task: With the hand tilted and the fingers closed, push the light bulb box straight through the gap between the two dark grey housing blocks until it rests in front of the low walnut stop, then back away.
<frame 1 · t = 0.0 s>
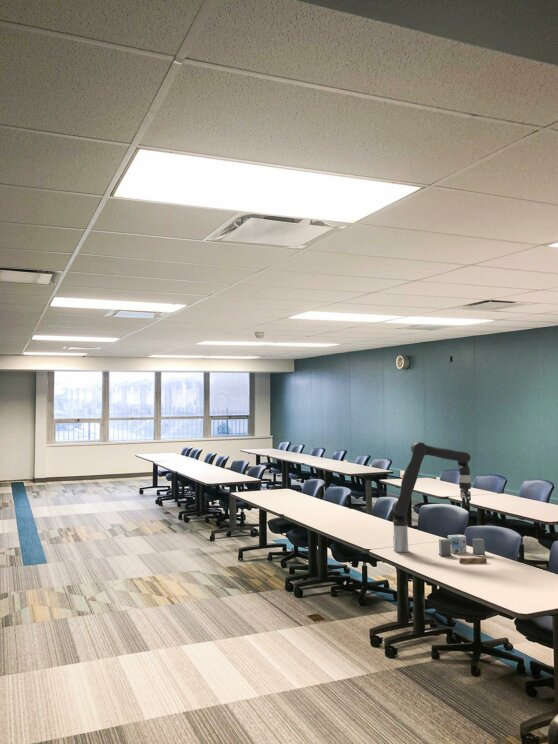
hand: (465, 505, 411), 29 cm above the table, tool pointing down, fingers open, 8 cm apart
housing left: (445, 555, 392), on the table
light bulb box: (457, 552, 402), on the table
walnut stop: (473, 563, 371), on the table
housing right: (478, 555, 392), on the table
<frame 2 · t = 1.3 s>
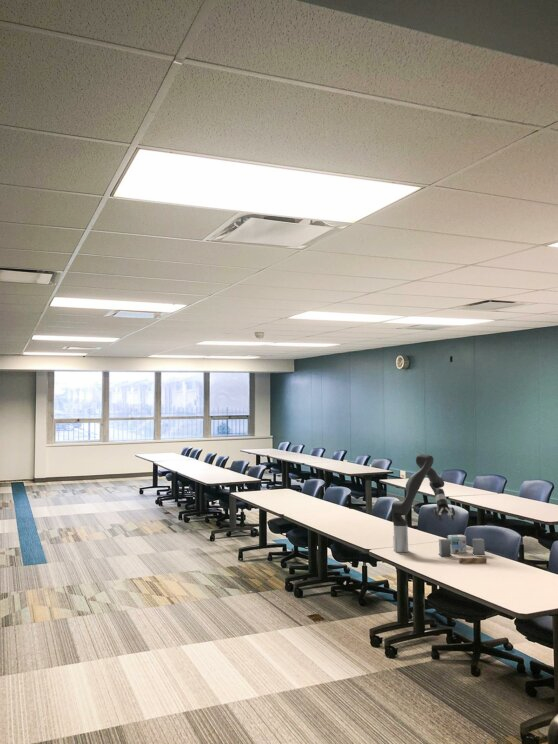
hand: (446, 520, 427), 17 cm above the table, tool tilted 45°, fingers open, 8 cm apart
nothing on the table moved.
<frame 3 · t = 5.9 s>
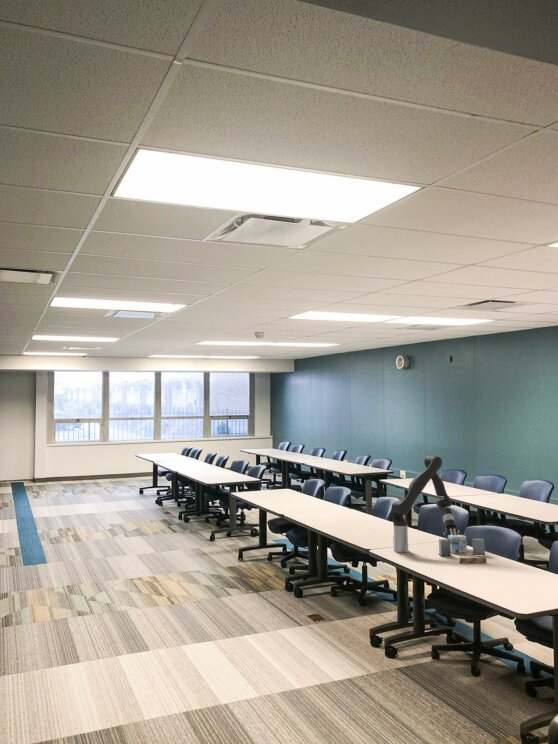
hand: (455, 543, 406), 5 cm above the table, tool tilted 45°, fingers closed
light bulb box: (457, 552, 402), on the table, touching gripper
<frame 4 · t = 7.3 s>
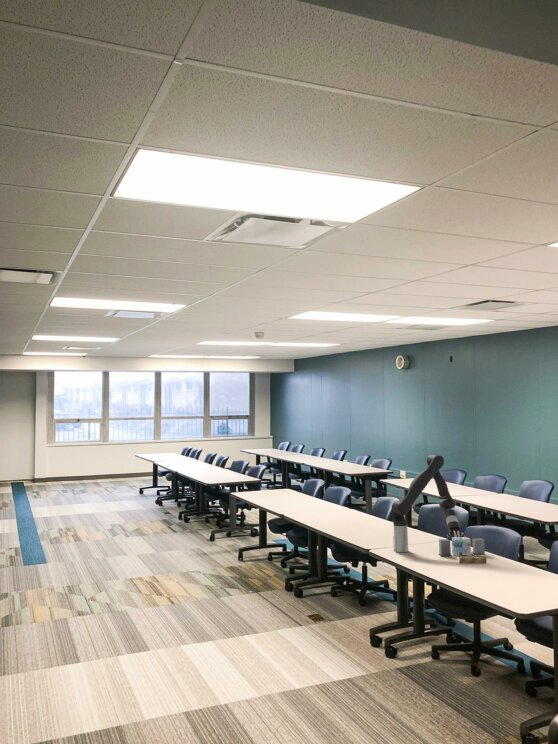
hand: (459, 546, 398), 5 cm above the table, tool tilted 45°, fingers closed
light bulb box: (461, 555, 394), on the table, touching gripper
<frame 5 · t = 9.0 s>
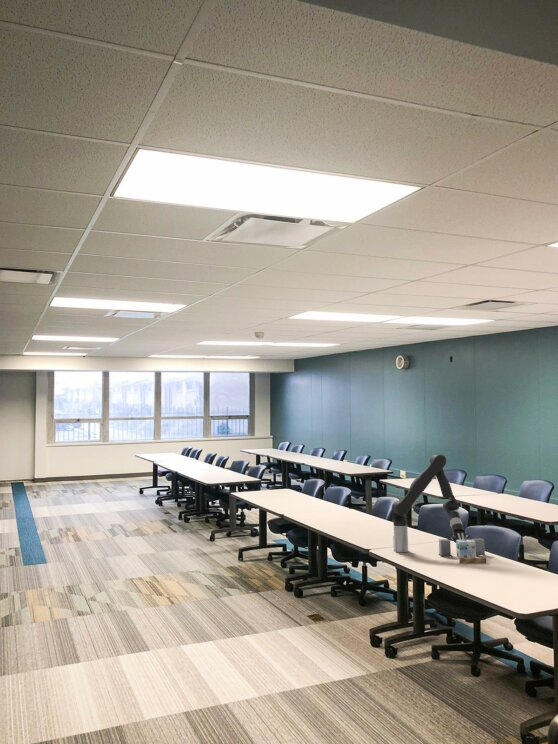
hand: (463, 548, 389), 5 cm above the table, tool tilted 45°, fingers closed
light bulb box: (466, 558, 385), on the table, touching gripper
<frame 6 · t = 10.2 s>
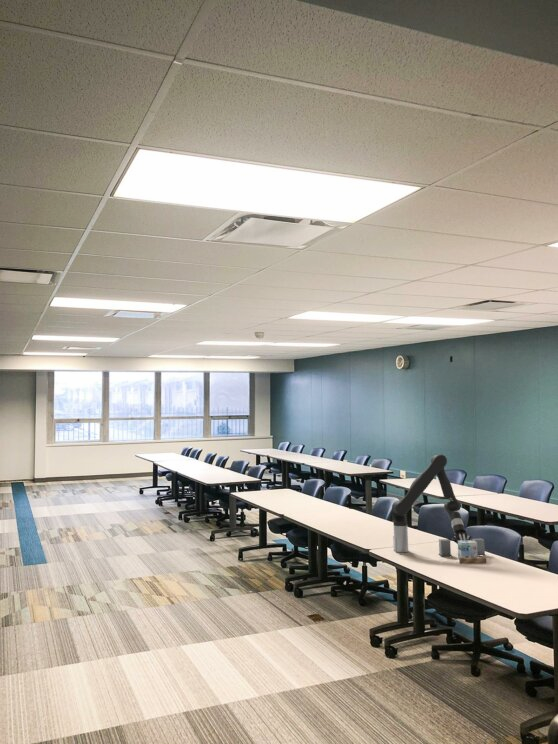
hand: (465, 549, 386), 5 cm above the table, tool tilted 45°, fingers closed
light bulb box: (467, 559, 382), on the table, touching gripper
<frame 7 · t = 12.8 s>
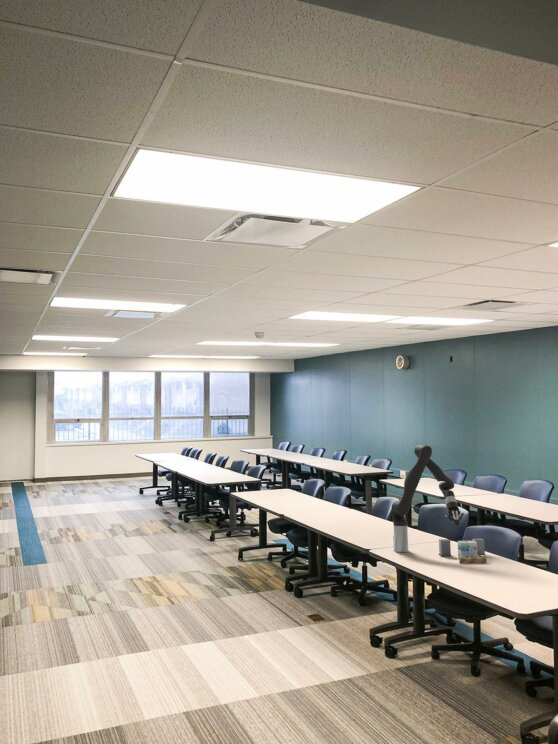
hand: (457, 525, 400), 18 cm above the table, tool tilted 45°, fingers closed
light bulb box: (468, 559, 382), on the table
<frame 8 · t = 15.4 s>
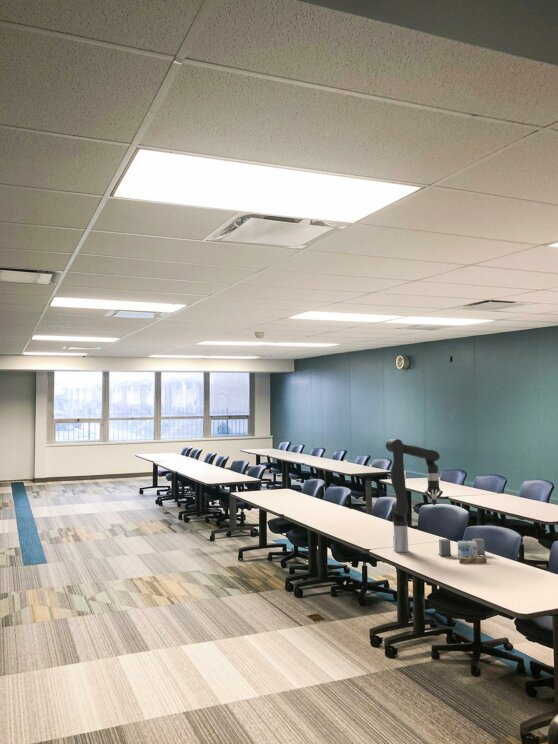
hand: (434, 504, 420), 29 cm above the table, tool pointing down, fingers closed
nothing on the table moved.
at the end: light bulb box inside the target area (2.9 cm from its centre), on the table; light bulb box tilted 0°; light bulb box moved 20.2 cm from its start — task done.
